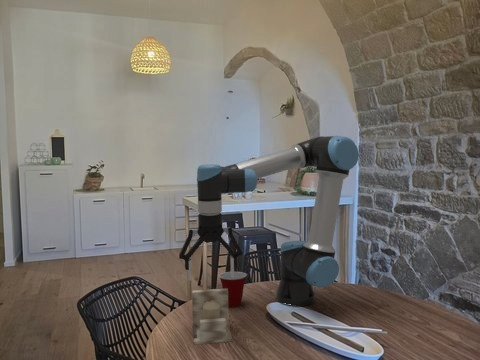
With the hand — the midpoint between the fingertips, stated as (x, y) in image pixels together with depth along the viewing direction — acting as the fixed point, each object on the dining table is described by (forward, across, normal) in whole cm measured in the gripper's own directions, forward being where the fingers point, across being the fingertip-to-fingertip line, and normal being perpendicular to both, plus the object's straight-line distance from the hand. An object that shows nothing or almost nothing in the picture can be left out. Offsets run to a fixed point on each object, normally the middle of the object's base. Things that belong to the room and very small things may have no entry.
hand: (211, 278), depth 133 cm
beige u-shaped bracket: (+19, 0, 0) cm, 19 cm away
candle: (+18, 0, 0) cm, 18 cm away
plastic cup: (+19, -10, -23) cm, 31 cm away
